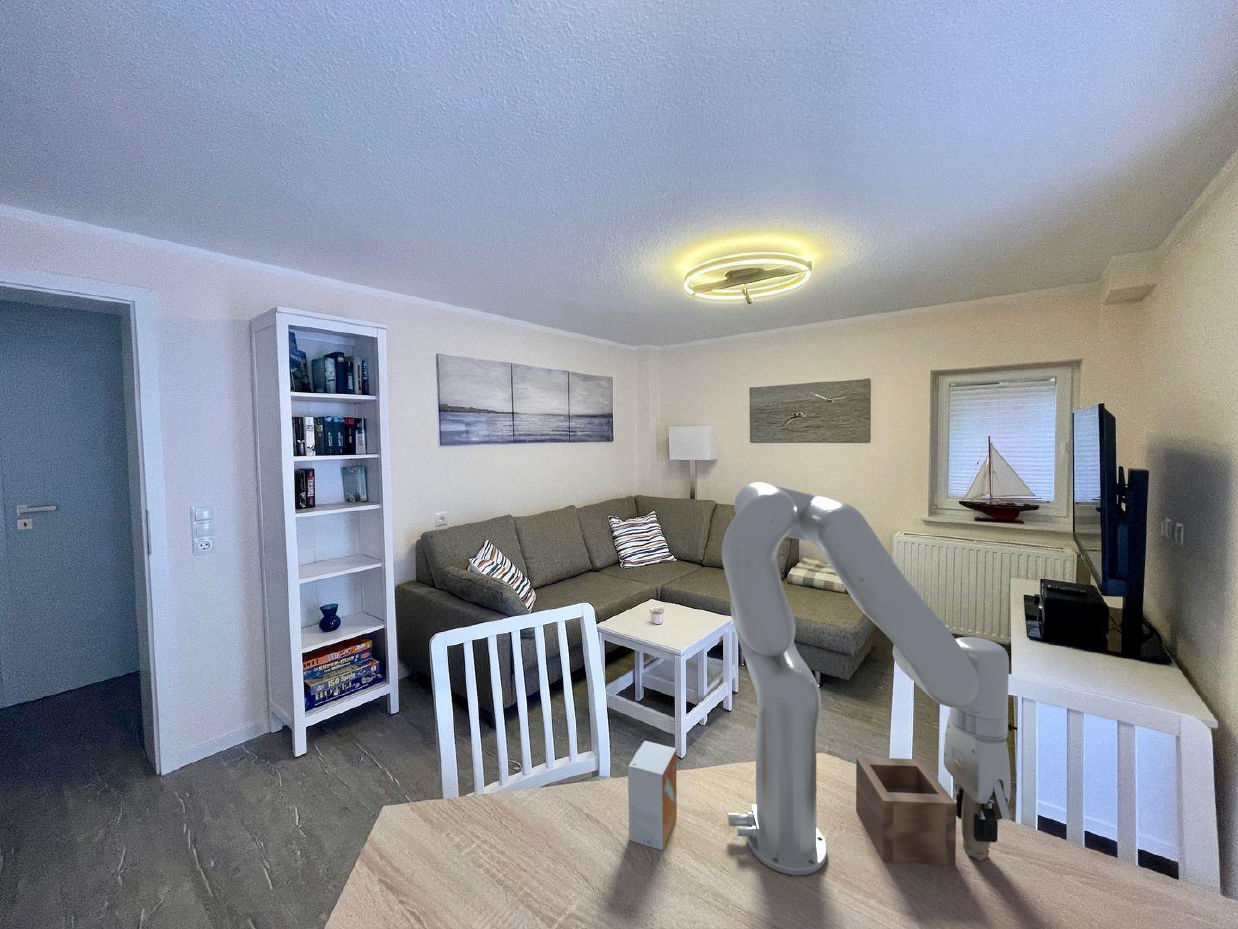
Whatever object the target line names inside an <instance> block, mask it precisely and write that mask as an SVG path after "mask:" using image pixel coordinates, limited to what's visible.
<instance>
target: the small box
mask: <svg viewBox="0 0 1238 929" xmlns="http://www.w3.org/2000/svg"><path fill="white" fill-rule="evenodd" d="M627 770H628V771H627V772H628V773H627V774H628V775H627V779H628V780H627V782H628V783H627V787H628V792H627V793H628V795H627V796H628V840H629V841H632V842H634V843H638V844H641V845H644V846H647V847H650V848H652V849H653V848H654V849H657V850H660V851H664V849H665V847H666V844H667V843H668V838H669V836H670V834H671V832H672V830H673V827H674V825H675V822H676V820H677V817H678V814H677V813H678V812H677V810H678V808H677V807H678V806H677V804H678V803H677V802H678V800H677V798H678V797H677V796H678V795H677V793H678V792H677V790H678V789H677V787H678V786H677V748H676V747H671V746H667V745H663V744H660V743H656V742H652V741H647V740H644V741H643V742H642V743H641V745H640V747H639V748H638V749H637V751H636V752H635V754H634V756H633V758H632V760H631V761H630V762H629V764H628V767H627Z"/></svg>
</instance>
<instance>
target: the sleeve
mask: <svg viewBox="0 0 1238 929" xmlns="http://www.w3.org/2000/svg"><path fill="white" fill-rule="evenodd" d="M855 759H856V760H855V761H856V762H855V764H856V765H855V767H856V768H855V769H856V772H855V779H856V780H855V791H856V792H855V795H856V796H855V811H856V813H857V816H858V817H859V819H860V821H861V823H862V825H863V826H864V829H865V830H866V832H867V834H868V836H869V838H870V840H871V842H872V844H873V845H874V848H875V849H876V851H877V853H878V855H879V856H880V858H881V860H882V862H888V863H890V862H891V863H904V864H906V863H908V864H930V865H948V866H956V864H957V863H956V860H957V859H956V856H957V855H956V852H957V851H956V848H957V844H956V843H957V815H956V801H955V800H954V799H953V798H952V796H951V795H950V794H949V793H948V791H947V790H946V789H945V788H944V786H943V785H942V784H941V783H940V781H939V780H937V778H936V777H935V775H934V774H933V773H932V772H931V770H930V769H929V768H928V767H927V766H926V765H925V763H924V762H923V760H921V758H892V757H891V758H890V757H865V756H863V757H861V756H860V757H859V756H856V758H855ZM884 787H894V788H916V789H917V790H918V792H919V793H920V794H919V793H894V792H887V791H886V789H885V788H884Z"/></svg>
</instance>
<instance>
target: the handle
mask: <svg viewBox="0 0 1238 929" xmlns="http://www.w3.org/2000/svg"><path fill="white" fill-rule="evenodd" d="M953 764H954V767H955V769H956V770H957V771H958V772H959V773H960V774H962V775H963V774H965V773H964V767H962V766H961V764H959V762H957V761H956V760H955V758H954V757H953ZM984 808H985V809H987V808H991V803H986V804H985V803H984ZM961 813H962V814H961V819H960V823H961V833H962V834H961V835H962V846H963V849H964V850H965V852H966V854H967V855H968V856H969V857H973V858H974V859H977V861H983V860H984V859H988V858H989V855H990V850H989V848H990V845H991V842H978V841H976V839H975V838H974V814H977V806H976V802H975V801H974V800H973V799H972V798H971V797H970V796H969V795H968V794H967V793H966V792H965V791H964V792H963V802H962V812H961Z"/></svg>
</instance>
